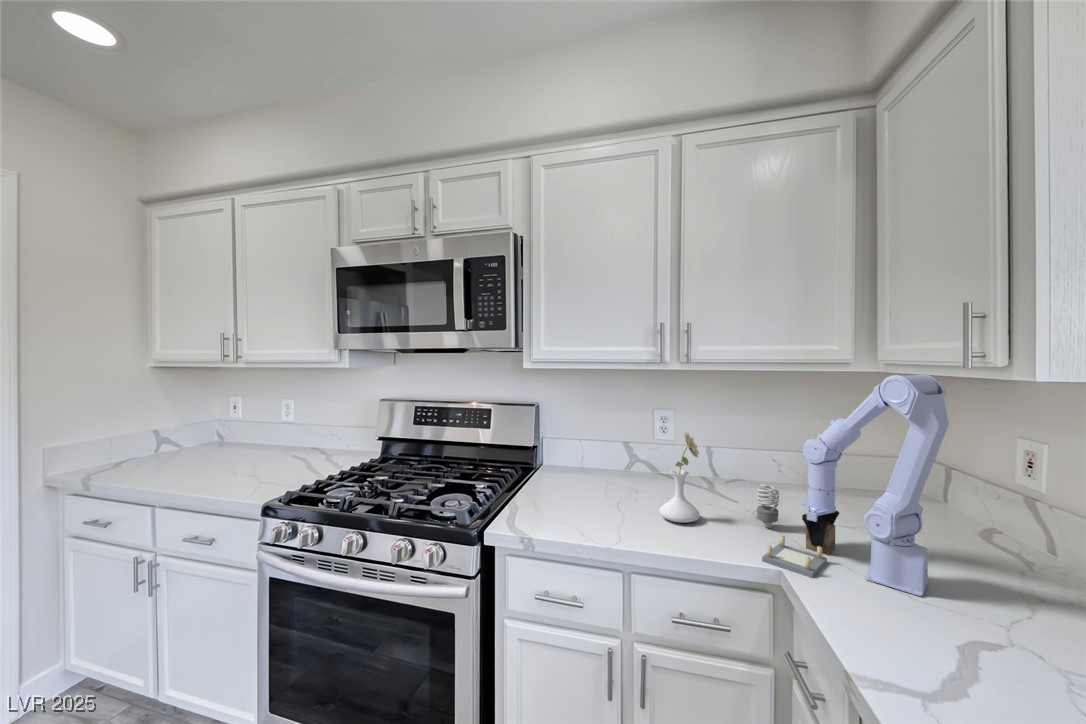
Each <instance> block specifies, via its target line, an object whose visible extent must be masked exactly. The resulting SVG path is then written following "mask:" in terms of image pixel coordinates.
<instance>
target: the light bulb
mask: <svg viewBox="0 0 1086 724" xmlns="http://www.w3.org/2000/svg"><path fill="white" fill-rule="evenodd" d="M756 491H757V492H756V497H755V498H756V499H757V501H756V502H757V504H758V506H757V508H756V517H757V519H758V520H759V521H762V522H761V523H762V526H763V527H765V528H766V529H770V528H772V527H773V523H776V522H778V519H779V509H778V506H779V502H780V491H779V489H778V488H776V487H774V486H773V485H771V484H760V487H758V488H756ZM772 505H773V506H772Z"/></svg>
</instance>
